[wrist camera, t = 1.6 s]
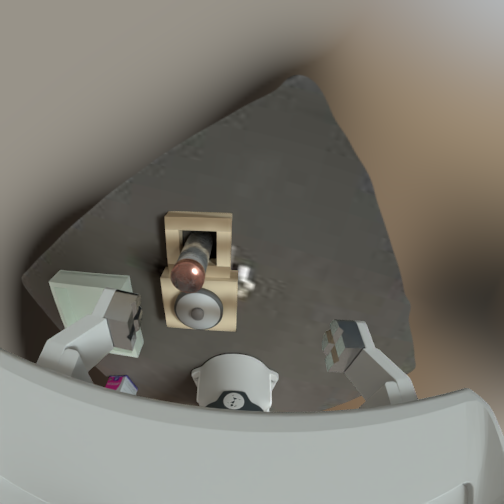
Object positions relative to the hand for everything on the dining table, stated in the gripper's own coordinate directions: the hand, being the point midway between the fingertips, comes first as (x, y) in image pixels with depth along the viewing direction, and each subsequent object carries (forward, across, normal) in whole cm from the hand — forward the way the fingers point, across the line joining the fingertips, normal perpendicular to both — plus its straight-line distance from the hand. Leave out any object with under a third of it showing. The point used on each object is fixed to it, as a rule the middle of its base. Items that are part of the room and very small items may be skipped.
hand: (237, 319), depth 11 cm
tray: (+27, -22, -33) cm, 48 cm away
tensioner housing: (+28, -3, -20) cm, 35 cm away
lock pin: (+29, -4, -16) cm, 33 cm away
